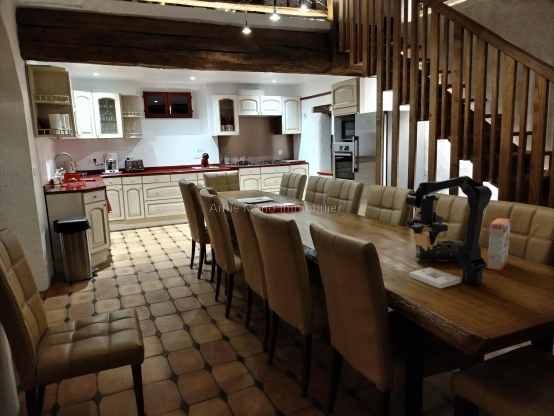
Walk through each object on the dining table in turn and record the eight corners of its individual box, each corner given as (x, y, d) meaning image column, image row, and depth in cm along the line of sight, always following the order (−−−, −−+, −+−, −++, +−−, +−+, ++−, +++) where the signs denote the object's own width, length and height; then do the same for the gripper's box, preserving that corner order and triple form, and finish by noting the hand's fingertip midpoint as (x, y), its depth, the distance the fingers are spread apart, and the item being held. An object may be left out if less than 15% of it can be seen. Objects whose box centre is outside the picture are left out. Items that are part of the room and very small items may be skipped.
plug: (436, 249, 175) (437, 234, 174) (426, 251, 172) (426, 236, 171) (425, 246, 180) (426, 231, 179) (415, 248, 178) (415, 233, 177)
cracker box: (502, 271, 169) (504, 224, 165) (486, 268, 173) (489, 223, 169) (508, 262, 179) (511, 218, 176) (494, 260, 183) (496, 217, 179)
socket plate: (461, 282, 158) (461, 277, 157) (440, 288, 153) (440, 283, 152) (429, 271, 172) (429, 266, 172) (409, 276, 167) (409, 271, 166)
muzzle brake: (480, 265, 178) (481, 243, 176) (416, 264, 183) (416, 243, 181) (473, 259, 187) (474, 238, 185) (413, 258, 192) (413, 237, 191)
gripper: (457, 210, 168) (455, 245, 171) (423, 204, 185) (422, 236, 188) (439, 213, 164) (438, 249, 166) (406, 207, 180) (405, 240, 183)
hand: (426, 243), depth 176 cm, fingers closed on plug, 6 cm apart
